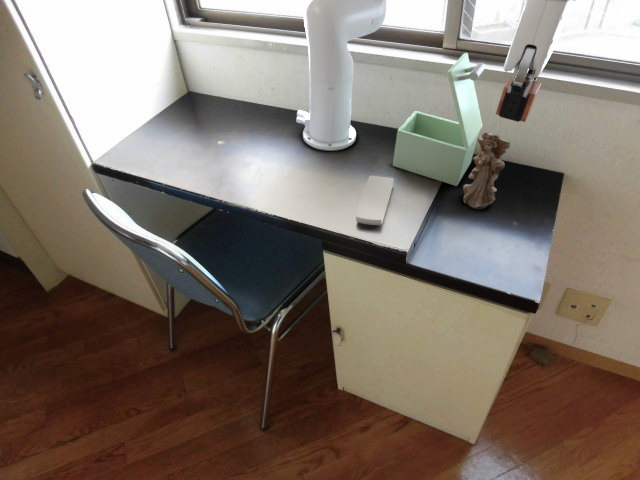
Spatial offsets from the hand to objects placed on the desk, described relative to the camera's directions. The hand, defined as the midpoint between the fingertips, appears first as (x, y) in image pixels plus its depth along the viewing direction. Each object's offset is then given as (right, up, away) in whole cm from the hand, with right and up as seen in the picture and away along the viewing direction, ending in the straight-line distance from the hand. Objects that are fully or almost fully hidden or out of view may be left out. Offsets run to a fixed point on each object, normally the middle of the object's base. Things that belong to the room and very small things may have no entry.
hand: (514, 110), depth 72 cm
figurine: (+2, -12, +24) cm, 27 cm away
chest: (-5, -3, +33) cm, 33 cm away
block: (0, 0, 0) cm, 0 cm away
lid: (-1, +7, +20) cm, 22 cm away
